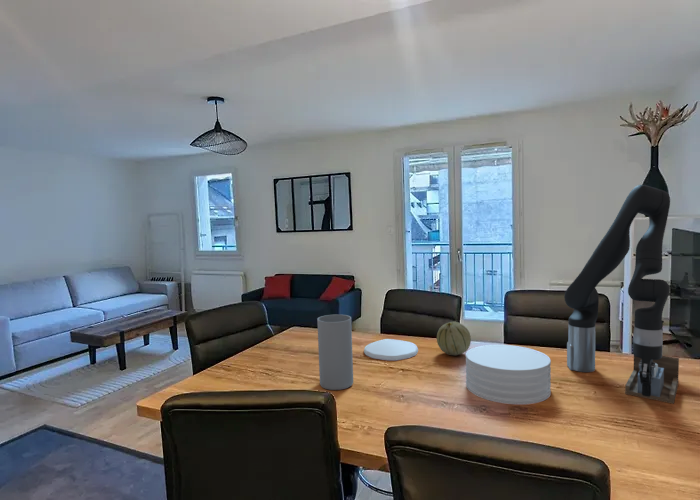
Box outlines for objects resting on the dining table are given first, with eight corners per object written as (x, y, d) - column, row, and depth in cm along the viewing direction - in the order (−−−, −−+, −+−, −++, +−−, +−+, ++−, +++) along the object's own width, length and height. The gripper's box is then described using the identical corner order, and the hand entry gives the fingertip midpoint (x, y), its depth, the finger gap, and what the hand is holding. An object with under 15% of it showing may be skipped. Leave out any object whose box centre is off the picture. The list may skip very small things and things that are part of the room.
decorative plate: (401, 355, 179) (353, 346, 194) (402, 364, 179) (353, 355, 194) (427, 340, 199) (382, 333, 214) (427, 349, 200) (382, 341, 214)
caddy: (659, 397, 136) (660, 373, 136) (637, 392, 140) (637, 369, 140) (663, 385, 145) (664, 363, 145) (642, 381, 149) (642, 359, 149)
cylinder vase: (357, 379, 163) (355, 315, 161) (346, 392, 151) (344, 323, 149) (327, 376, 167) (325, 313, 165) (314, 389, 155) (311, 321, 153)
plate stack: (510, 412, 132) (510, 376, 131) (449, 383, 157) (449, 352, 156) (568, 392, 145) (568, 359, 144) (504, 368, 170) (504, 340, 169)
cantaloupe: (475, 352, 191) (474, 319, 190) (465, 362, 179) (464, 326, 178) (443, 347, 199) (443, 316, 198) (431, 356, 187) (431, 323, 186)
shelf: (673, 403, 134) (674, 375, 133) (625, 393, 142) (625, 366, 142) (678, 383, 149) (678, 358, 148) (634, 376, 158) (634, 351, 157)
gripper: (659, 349, 127) (658, 405, 128) (664, 338, 137) (663, 391, 138) (629, 344, 132) (629, 399, 133) (636, 335, 142) (635, 386, 143)
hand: (646, 395), depth 135 cm, fingers closed
